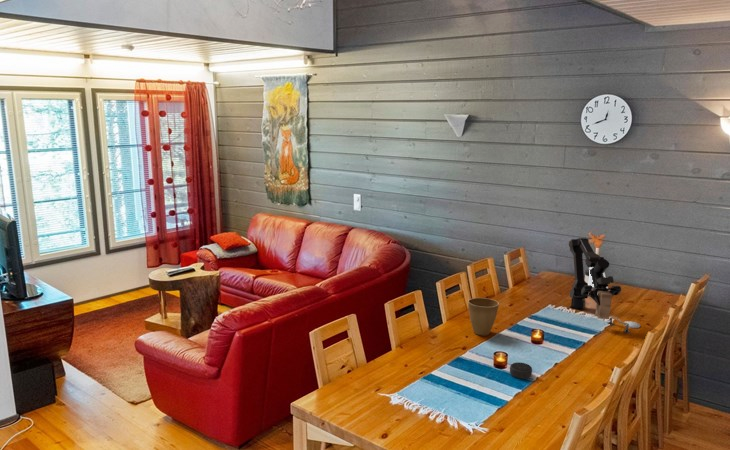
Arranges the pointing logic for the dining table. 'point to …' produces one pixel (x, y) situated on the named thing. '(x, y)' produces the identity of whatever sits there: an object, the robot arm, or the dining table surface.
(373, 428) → the dining table surface
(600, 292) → the taupe upright block
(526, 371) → the smart speaker
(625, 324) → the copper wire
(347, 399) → the dining table surface
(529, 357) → the dining table surface
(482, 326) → the plant pot
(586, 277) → the jar
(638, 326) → the pad
